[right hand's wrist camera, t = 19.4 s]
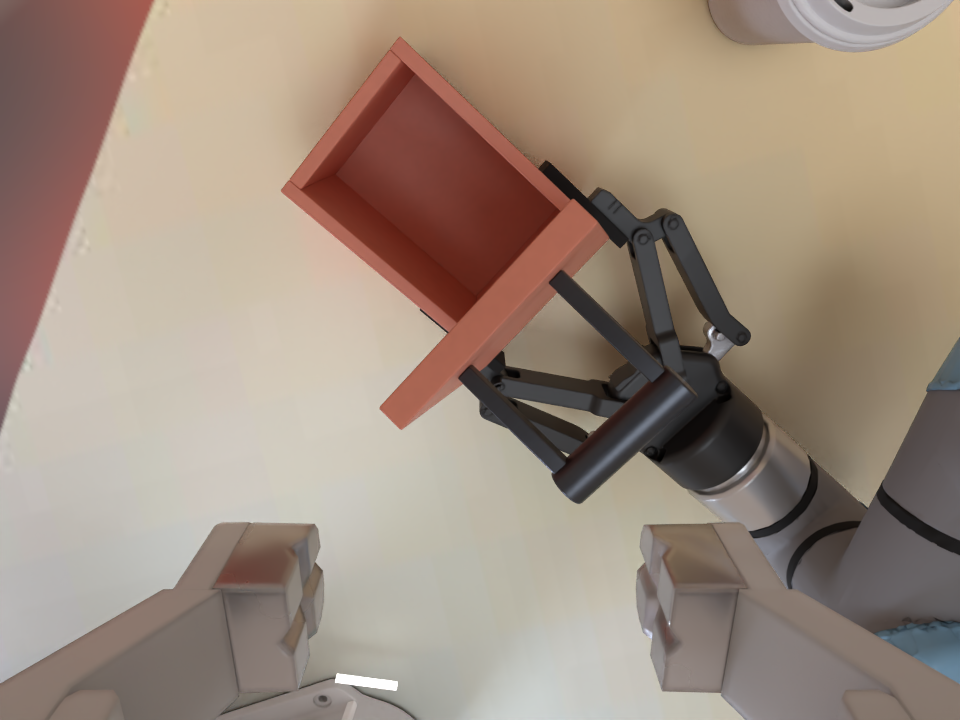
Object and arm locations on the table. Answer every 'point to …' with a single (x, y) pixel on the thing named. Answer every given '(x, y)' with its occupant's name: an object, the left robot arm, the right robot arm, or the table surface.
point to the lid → (505, 316)
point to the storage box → (424, 188)
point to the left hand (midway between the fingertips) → (482, 235)
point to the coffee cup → (824, 21)
